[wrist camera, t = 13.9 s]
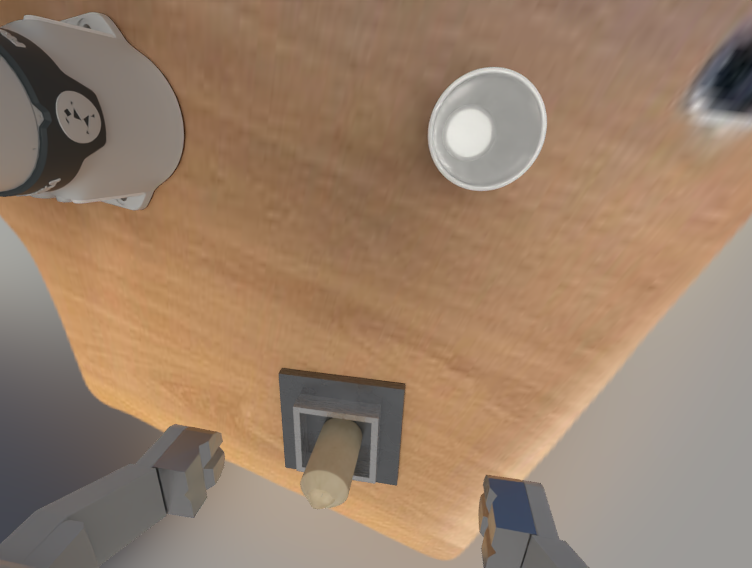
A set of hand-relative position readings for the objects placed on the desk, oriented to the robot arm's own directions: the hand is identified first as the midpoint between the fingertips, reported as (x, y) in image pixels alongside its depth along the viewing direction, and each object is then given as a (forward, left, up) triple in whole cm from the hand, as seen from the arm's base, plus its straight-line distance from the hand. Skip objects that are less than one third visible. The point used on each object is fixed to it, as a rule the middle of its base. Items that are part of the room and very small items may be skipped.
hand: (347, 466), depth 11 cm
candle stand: (-8, -27, -31) cm, 42 cm away
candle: (-7, -28, -30) cm, 41 cm away
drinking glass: (+4, +10, -31) cm, 32 cm away
